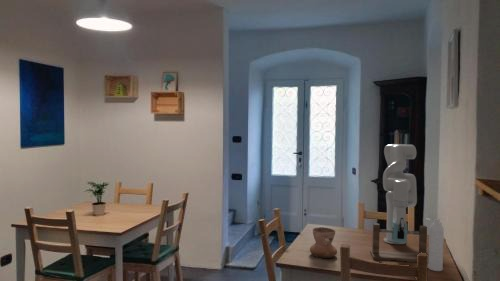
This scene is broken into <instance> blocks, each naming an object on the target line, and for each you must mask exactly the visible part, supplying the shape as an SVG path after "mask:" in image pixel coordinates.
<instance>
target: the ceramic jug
mask: <svg viewBox="0 0 500 281" xmlns="http://www.w3.org/2000/svg"><path fill="white" fill-rule="evenodd" d="M336 232H337V231H336V230H335V229H332V228H329V227H323V226H319V227H318V226H317V227H314V228H312V235H313V238H314V241H315V243H313V244H312V245H311V246H310V248H309V252H310V253H311V255H313V256H314V257H316V258H320V259H330V258H334V257H336V255H337V254H338V249H337V248H336V247H335V245H333V244H332V243H333V241H334V239H335V237H336Z"/></svg>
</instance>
